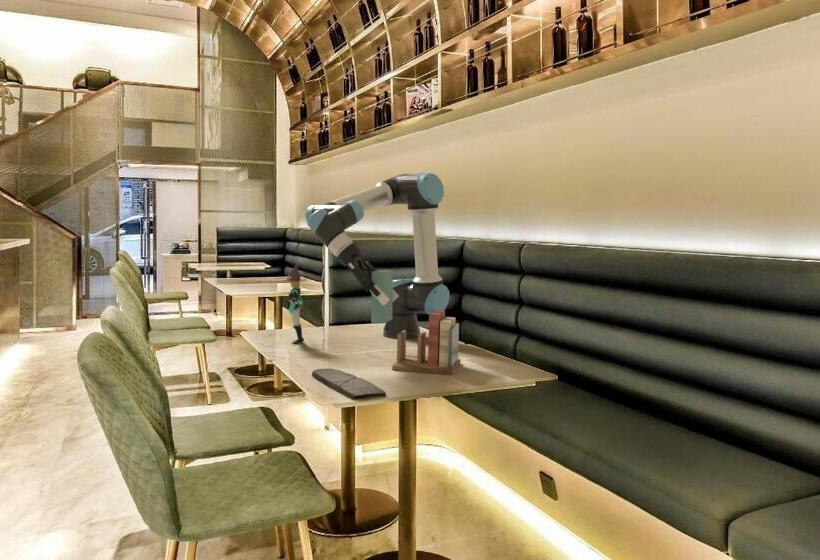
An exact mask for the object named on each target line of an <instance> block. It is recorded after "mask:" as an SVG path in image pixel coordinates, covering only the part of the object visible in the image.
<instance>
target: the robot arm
mask: <svg viewBox="0 0 820 560" xmlns="http://www.w3.org/2000/svg"><path fill="white" fill-rule="evenodd" d="M444 196H445V189H444V184H443V182H442V180H441V178H439V177H438V175H437V174H435V173H432V172H417V173H415V172H414V173H402V174H397V175H395V176H393V177H392V176H391V177H389V178H387V179H385V180H381V181H379V182H377V183H376V184H375V186H372V187H369V188H366V189H364V190H361V191H357V192H353V193H352V194H348V195H345V196H343V197H339V198H337V199H334V200H331V201H328V202H325V203H322V204H313V205H310V206H308V208H306V210H305V221H306V223H307V226H308V228H309V229H310V230H311V231H312V232H313V234H314V235H315V236H316V237H317V239H318V240H320V242H322V243H323V245H325V247H326V248H327V249H328V250H329V253H330V254H333V255H334V257H337V261H339V262H340V264H341V265H342V266H343V267H347V269H349V270H350V272H351V273H352V274H353V276H354V277H355V278H356V279H357V281H358V282H359V284H360V285H361V287H362V288H363V289H364V291H365V292H366V293H368V292H370V293H371V295H372V294H373V295H374V296H375V297H376V298H377V300H378V301H379V302H380V303H381V304H382V305H383V306H384V305H385V304H386V303H387V302H388V301H389V300H390V299H389V298H388V297H387V296H386V295H385V294H384V293H383V292H382V291H381V289H380V288H379V287H378V286H377V285H374V283H373V282H372V272H374V271H378V269H376V268H375V267H374V266H373V265H372V264H371V263H370V262H369V261H368V260H367V259H366V258H361V256H360V255H361V253H362V249H360V247H358V245H357V244H356V243H353V242H354V241H353V240H352V239H351V237H350V236H349V235H348V234H347V233H346V230H347V229H349V228H351V227H352V226H354V225H357V223H359V222H360V221H361V220H363V218H364V215H365V212H367V211H370V210H372V209H375V208H378V207H381V206H382V207H388V206H392V205H407V211H408V212H410V213H411V216H412V230H413V231H412V232H413V246H414V247H413V248H414V263H415V276H414V277H413V278H404V279H403V278H402V279H401V278H400V279H393V298H392V319H391V320H390V321H388V322H386V323H384V326H383V329H382V330H383V331H382V335H383V336H384V337H386V338H392V339H397V334H398V333H400V332H401V331H403V330H404V331H406V339H414V338H415V339H417V338H418V335H419V334H421V329H420V326H419V321H418V317H417V313H422V314H427V315H429V314H430V313H432V312H434V311H435V310H441V311H446V308H447V306H448V305H449V301H450V290H449V289H448V287H447V286H446V285H444V284H443V277H442V276H440V274H439V268H438V266H439V265H438V251H437V250H438V249H437V230H436V212H437V210H438V209H439V204H440V203H441V202H442V200H443V198H444Z"/></svg>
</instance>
